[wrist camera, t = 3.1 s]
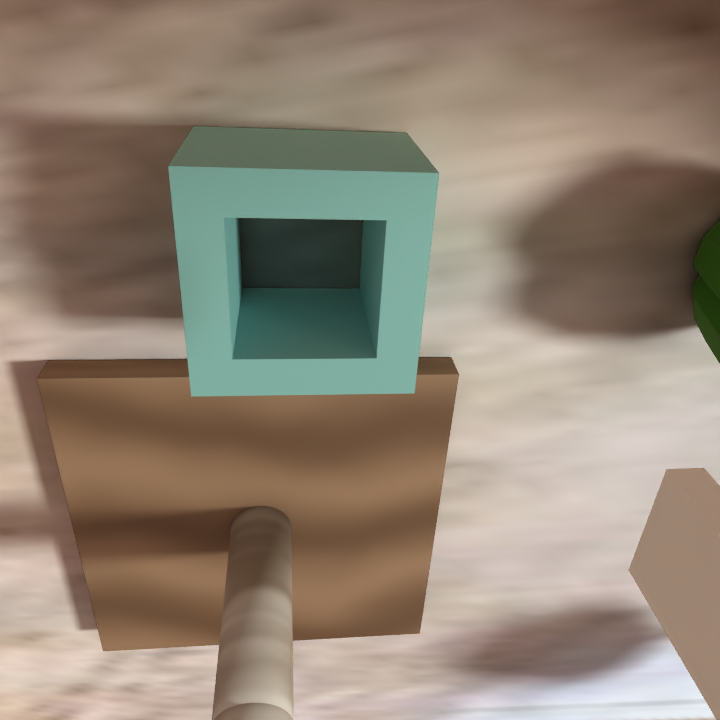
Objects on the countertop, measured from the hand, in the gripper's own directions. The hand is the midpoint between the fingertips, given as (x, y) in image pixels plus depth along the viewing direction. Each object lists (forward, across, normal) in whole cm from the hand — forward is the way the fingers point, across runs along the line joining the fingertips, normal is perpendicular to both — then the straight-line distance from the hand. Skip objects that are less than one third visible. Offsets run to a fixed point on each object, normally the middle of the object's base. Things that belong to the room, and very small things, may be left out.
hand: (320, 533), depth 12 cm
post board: (+17, -2, -15) cm, 22 cm away
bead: (+17, 0, 0) cm, 17 cm away
